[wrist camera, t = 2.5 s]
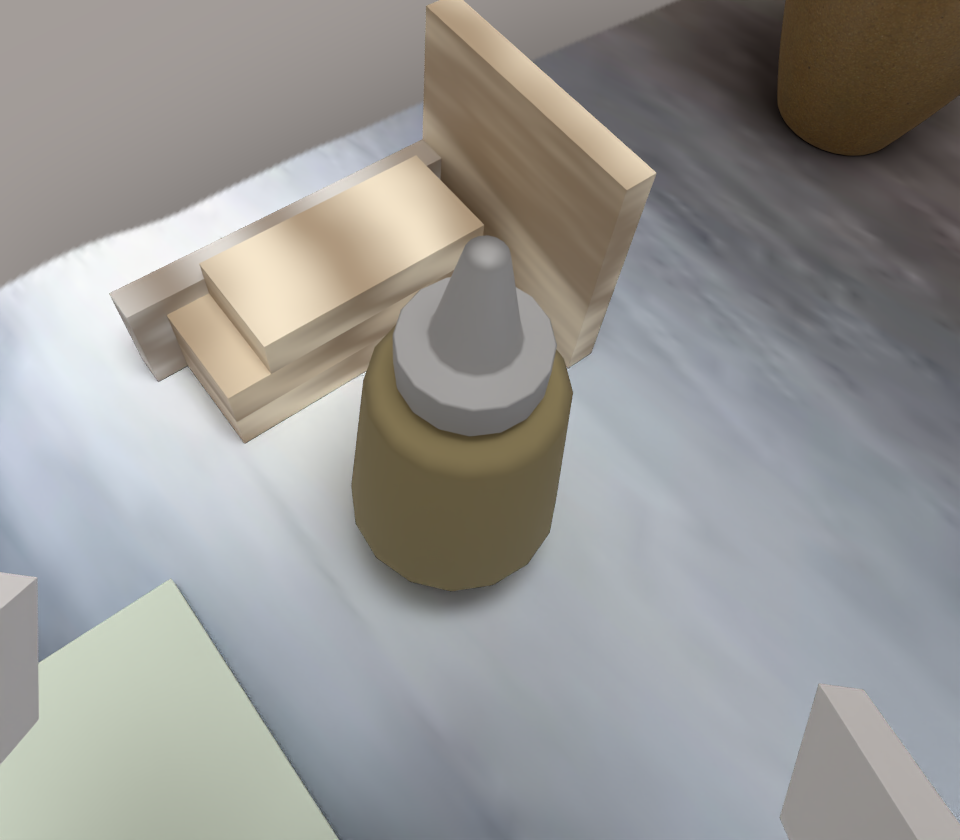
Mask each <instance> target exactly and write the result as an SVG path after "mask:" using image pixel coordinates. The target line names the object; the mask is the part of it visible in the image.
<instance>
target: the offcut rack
mask: <svg viewBox="0 0 960 840" xmlns="http://www.w3.org/2000/svg"><path fill="white" fill-rule="evenodd" d="M655 176H656V172H655V171H654V170H653V169H651V168H650V167H649V166H648V165H647V164H646V163H645V162H644V161H642V160H641V159H640V158H639V157H638V156H637V155H636V154H635V153H634V152H632V151H631V150H630V149H629V148H628V147H627V146H626V145H625V144H623V143H622V142H621V141H620V140H619V139H618V138H617V137H616V136H614V135H613V134H612V133H611V132H610V131H609V130H608V129H607V128H606V127H604V126H603V125H602V124H601V123H600V122H599V121H598V120H597V119H595V118H594V117H593V116H592V115H591V114H590V113H589V112H588V111H586V110H585V109H584V108H583V107H582V106H581V105H580V104H579V103H578V102H576V101H575V100H574V99H573V98H572V97H571V96H570V95H569V94H567V93H566V92H565V91H564V90H563V89H562V88H561V87H560V86H558V85H557V84H556V83H555V82H554V81H553V80H552V79H551V78H550V77H548V76H547V75H546V74H545V73H544V72H543V71H542V70H541V69H539V68H538V67H537V66H536V65H535V64H534V63H533V62H532V61H530V60H529V59H528V58H527V57H526V56H525V55H524V54H523V53H522V52H520V51H519V50H518V49H517V48H516V47H515V46H514V45H512V44H511V43H510V42H509V41H508V40H507V39H506V38H505V37H504V36H502V35H501V34H500V33H499V32H498V31H497V30H496V29H495V28H493V27H492V26H491V25H490V24H489V23H488V22H487V21H486V20H485V19H483V18H482V17H481V16H480V15H479V14H478V13H477V12H475V11H474V10H473V9H472V8H471V7H470V6H469V5H468V4H467V3H466V2H464V1H463V0H440V1H437V2H435V3H432V4H430V5H427V6H426V35H425V72H424V108H423V139H422V140H420V141H418V142H416V143H414V144H412V145H410V146H408V147H406V148H404V149H402V150H400V151H398V152H396V153H394V154H392V155H390V156H388V157H386V158H384V159H382V160H379V161H377V162H375V163H373V164H371V165H369V166H367V167H365V168H363V169H361V170H359V171H357V172H355V173H353V174H351V175H349V176H347V177H345V178H343V179H341V180H339V181H337V182H335V183H333V184H331V185H329V186H327V187H325V188H323V189H321V190H319V191H316V192H314V193H312V194H310V195H308V196H306V197H304V198H302V199H300V200H298V201H296V202H294V203H292V204H290V205H288V206H286V207H284V208H282V209H280V210H278V211H276V212H274V213H272V214H270V215H268V216H266V217H264V218H262V219H260V220H258V221H256V222H253V223H251V224H249V225H247V226H245V227H243V228H241V229H239V230H237V231H235V232H233V233H231V234H229V235H227V236H225V237H223V238H221V239H219V240H217V241H215V242H213V243H211V244H209V245H207V246H205V247H203V248H201V249H199V250H197V251H195V252H193V253H191V254H188V255H186V256H184V257H182V258H180V259H178V260H176V261H174V262H172V263H170V264H168V265H166V266H164V267H162V268H160V269H158V270H156V271H154V272H152V273H150V274H148V275H146V276H144V277H142V278H140V279H138V280H136V281H134V282H132V283H130V284H128V285H125V286H123V287H121V288H119V289H117V290H115V291H113V292H111V293H109V294H110V296H111V298H112V300H113V302H114V304H115V306H116V308H117V310H118V312H119V314H120V316H121V318H122V320H123V322H124V324H125V326H126V328H127V330H128V332H129V334H130V336H131V338H132V340H133V342H134V344H135V346H136V348H137V349H138V351H139V353H140V355H141V357H142V359H143V361H144V362H145V364H146V365H147V366H148V368H149V369H150V371H151V372H152V373H153V375H154V376H155V378H156V379H157V381H158V382H159V381H161V380H163V379H164V378H166V377H168V376H170V375H172V374H174V373H175V372H177V371H179V370H181V369H183V368H185V367H186V366H189V368H190V369H191V370H192V372H193V373H194V375H195V376H196V377H197V379H198V380H199V381H200V383H201V384H202V386H203V387H204V388H205V390H206V391H207V392H208V394H209V395H210V397H211V398H212V399H213V401H214V402H215V403H216V405H217V406H218V408H219V409H220V410H221V412H222V413H223V414H224V416H225V417H226V419H227V420H228V421H229V423H230V424H231V425H232V427H233V428H234V430H235V431H236V432H237V434H238V435H239V436H240V438H241V439H242V441H243V442H244V443H246V442H248V441H250V440H251V439H253V438H255V437H256V436H258V435H260V434H261V433H263V432H265V431H266V430H268V429H270V428H271V427H273V426H275V425H276V424H278V423H280V422H281V421H283V420H285V419H286V418H288V417H290V416H292V415H293V414H295V413H297V412H298V411H300V410H302V409H303V408H305V407H307V406H308V405H310V404H312V403H313V402H315V401H317V400H318V399H320V398H322V397H323V396H325V395H327V394H328V393H330V392H332V391H333V390H335V389H337V388H338V387H340V386H342V385H343V384H345V383H347V382H349V381H350V380H352V379H354V378H355V377H357V376H359V375H360V374H362V373H364V372H365V371H367V368H368V365H369V362H370V360H371V357H372V354H373V351H374V348H375V346H376V345H377V344H378V343H379V342H380V341H381V340H382V339H383V338H384V337H385V336H386V335H387V334H388V332H389V331H390V330H391V329H392V328H393V327H394V326H395V325H396V323H397V320H398V317H399V314H400V311H401V309H402V308H403V307H404V306H405V305H406V304H407V303H408V302H409V301H410V300H411V299H412V298H413V297H414V296H415V294H416V293H417V292H418V291H419V290H421V289H423V288H425V287H427V286H429V285H432V284H434V283H436V282H438V281H440V280H443V279H445V278H448V277H451V276H452V274H453V271H454V269H455V267H456V265H457V262H458V260H459V258H460V256H461V254H462V251H463V249H464V247H465V245H466V244H467V243H468V242H469V241H470V240H471V239H473V238H475V237H478V236H486V235H488V236H493V237H497V238H498V239H500V240H502V241H503V242H505V244H506V245H507V246H508V247H509V249H510V253H511V259H512V265H513V272H514V279H515V286H516V287H517V288H518V289H520V290H522V291H523V292H525V293H527V294H528V295H530V296H532V297H533V298H534V300H535V301H536V302H537V303H538V305H539V306H540V307H541V308H542V310H543V311H544V312H545V313H546V315H547V316H548V317H549V318H550V321H551V324H552V328H553V332H554V336H555V340H556V343H557V348H556V349H557V350H558V352H559V353H560V354H561V356H562V357H563V358H564V361H565V365H566V366H567V367H568V368H569V367H571V366H572V365H574V364H575V363H577V362H578V361H580V360H581V359H583V358H584V357H586V356H587V355H589V354H590V353H591V352H592V349H593V346H594V344H595V341H596V338H597V335H598V333H599V330H600V327H601V324H602V322H603V319H604V316H605V313H606V311H607V308H608V305H609V302H610V300H611V297H612V294H613V291H614V289H615V286H616V283H617V280H618V278H619V275H620V272H621V269H622V267H623V264H624V261H625V258H626V256H627V253H628V250H629V247H630V245H631V242H632V239H633V236H634V234H635V231H636V228H637V225H638V223H639V220H640V217H641V214H642V212H643V209H644V206H645V203H646V201H647V198H648V195H649V192H650V190H651V187H652V184H653V181H654V178H655Z"/></svg>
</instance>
